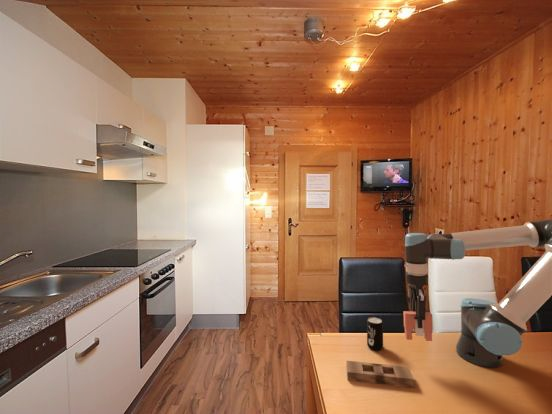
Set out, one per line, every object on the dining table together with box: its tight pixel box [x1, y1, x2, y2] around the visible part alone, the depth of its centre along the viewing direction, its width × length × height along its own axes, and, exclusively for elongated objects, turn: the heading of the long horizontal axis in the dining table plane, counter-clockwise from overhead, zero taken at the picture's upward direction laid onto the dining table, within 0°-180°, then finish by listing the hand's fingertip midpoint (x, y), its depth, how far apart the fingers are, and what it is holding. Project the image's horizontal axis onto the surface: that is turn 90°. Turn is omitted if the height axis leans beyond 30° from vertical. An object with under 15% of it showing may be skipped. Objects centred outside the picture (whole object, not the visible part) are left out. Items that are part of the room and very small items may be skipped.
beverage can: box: [366, 316, 384, 352], centre depth 118 cm, size 7×7×12 cm
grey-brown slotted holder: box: [346, 360, 415, 388], centre depth 98 cm, size 22×7×3 cm, turn 78°
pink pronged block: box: [403, 310, 434, 342], centre depth 105 cm, size 10×3×10 cm, turn 78°
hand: (418, 333), depth 105 cm, fingers closed on pink pronged block, 3 cm apart
